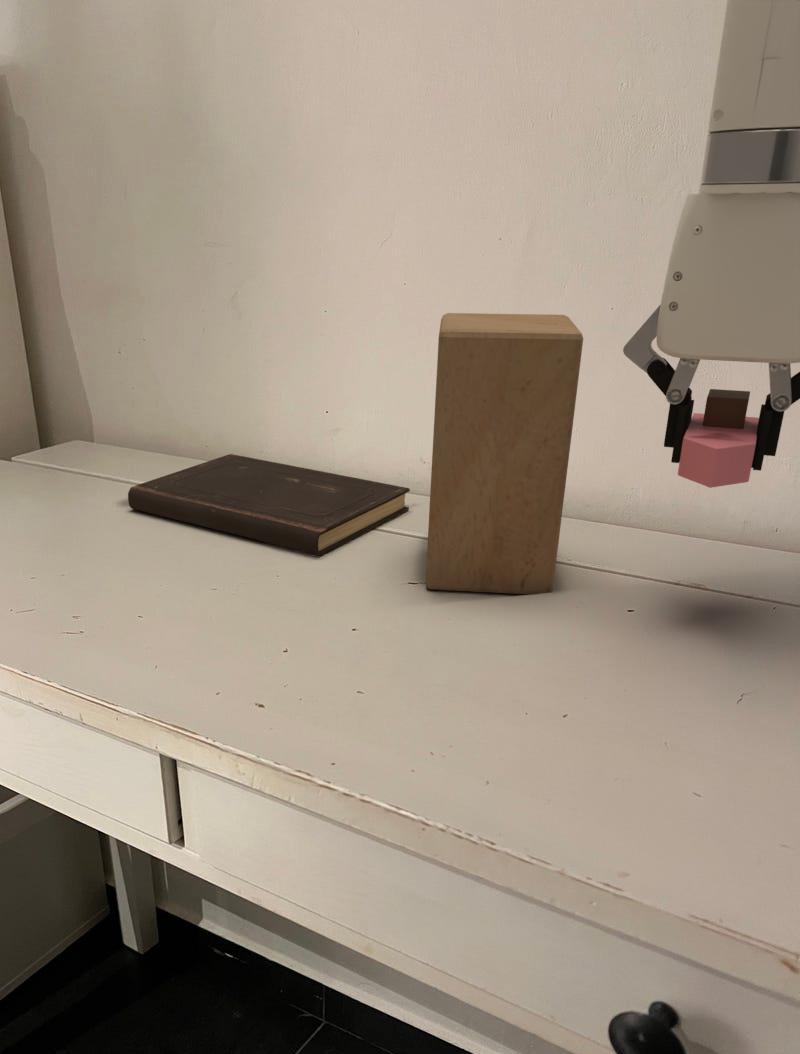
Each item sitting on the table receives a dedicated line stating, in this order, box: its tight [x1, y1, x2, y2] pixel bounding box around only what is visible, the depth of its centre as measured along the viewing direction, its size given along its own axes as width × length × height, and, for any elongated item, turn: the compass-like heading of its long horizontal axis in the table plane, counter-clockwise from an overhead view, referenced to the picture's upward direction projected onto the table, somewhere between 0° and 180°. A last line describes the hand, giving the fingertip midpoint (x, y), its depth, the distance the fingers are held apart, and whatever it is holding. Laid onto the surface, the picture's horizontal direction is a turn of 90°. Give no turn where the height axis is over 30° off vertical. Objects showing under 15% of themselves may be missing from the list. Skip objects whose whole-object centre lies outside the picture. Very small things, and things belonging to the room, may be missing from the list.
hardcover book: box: [127, 453, 411, 557], centre depth 91 cm, size 16×23×2 cm
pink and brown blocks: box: [677, 388, 759, 489], centre depth 62 cm, size 10×4×5 cm, turn 155°
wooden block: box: [424, 312, 584, 595], centre depth 72 cm, size 10×10×20 cm
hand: (717, 458), depth 64 cm, fingers closed on pink and brown blocks, 4 cm apart
